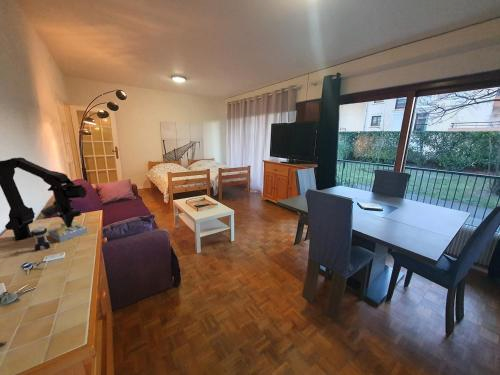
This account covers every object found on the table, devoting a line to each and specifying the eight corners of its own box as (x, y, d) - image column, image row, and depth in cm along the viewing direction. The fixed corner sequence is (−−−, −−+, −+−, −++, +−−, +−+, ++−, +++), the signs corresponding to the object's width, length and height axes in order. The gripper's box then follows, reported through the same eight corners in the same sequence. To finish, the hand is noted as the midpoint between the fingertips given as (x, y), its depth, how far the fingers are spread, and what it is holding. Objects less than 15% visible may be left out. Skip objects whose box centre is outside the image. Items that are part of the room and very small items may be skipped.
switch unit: (49, 236, 110) (47, 230, 109) (75, 228, 120) (74, 222, 119) (60, 242, 103) (58, 235, 102) (87, 233, 113) (86, 227, 112)
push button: (29, 253, 93) (24, 232, 90) (32, 248, 97) (27, 228, 95) (50, 249, 96) (45, 229, 94) (52, 244, 101) (47, 225, 98)
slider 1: (56, 234, 105) (55, 228, 104) (63, 231, 107) (62, 226, 106) (58, 235, 103) (57, 229, 103) (65, 232, 106) (64, 227, 105)
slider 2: (61, 228, 111) (60, 223, 110) (68, 226, 113) (67, 221, 113) (63, 229, 110) (62, 224, 109) (70, 227, 112) (68, 222, 111)
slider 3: (70, 226, 114) (69, 221, 114) (76, 224, 117) (75, 219, 116) (72, 226, 113) (71, 221, 113) (78, 225, 116) (77, 220, 115)
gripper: (33, 200, 104) (41, 229, 107) (49, 205, 95) (56, 237, 98) (62, 195, 113) (68, 222, 117) (78, 199, 104) (84, 228, 108)
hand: (68, 227), depth 109 cm, fingers closed
